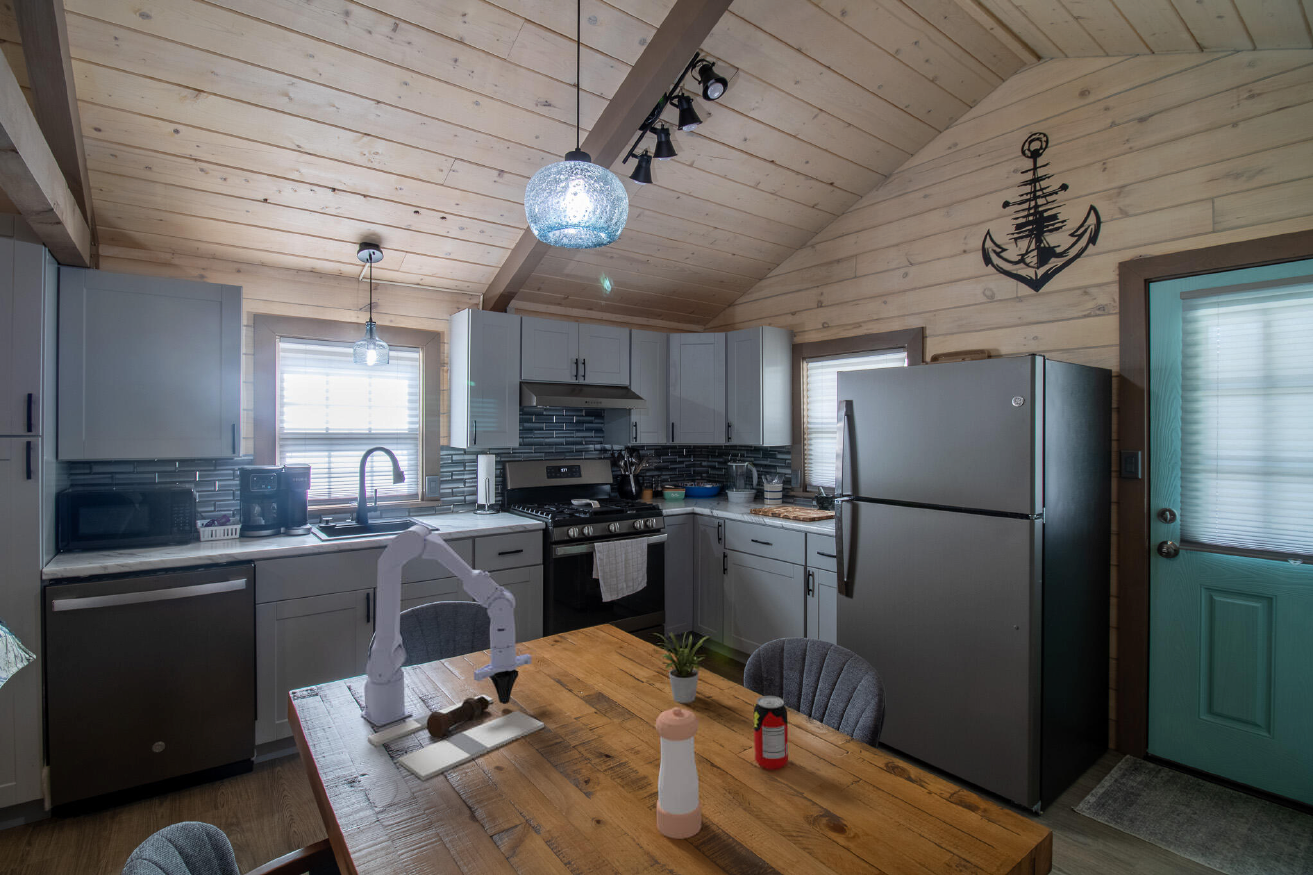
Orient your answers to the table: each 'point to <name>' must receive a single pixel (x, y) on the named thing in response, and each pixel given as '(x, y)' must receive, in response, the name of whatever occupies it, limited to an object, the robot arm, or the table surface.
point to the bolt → (455, 716)
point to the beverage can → (770, 732)
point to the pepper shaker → (678, 775)
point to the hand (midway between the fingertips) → (504, 702)
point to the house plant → (683, 670)
